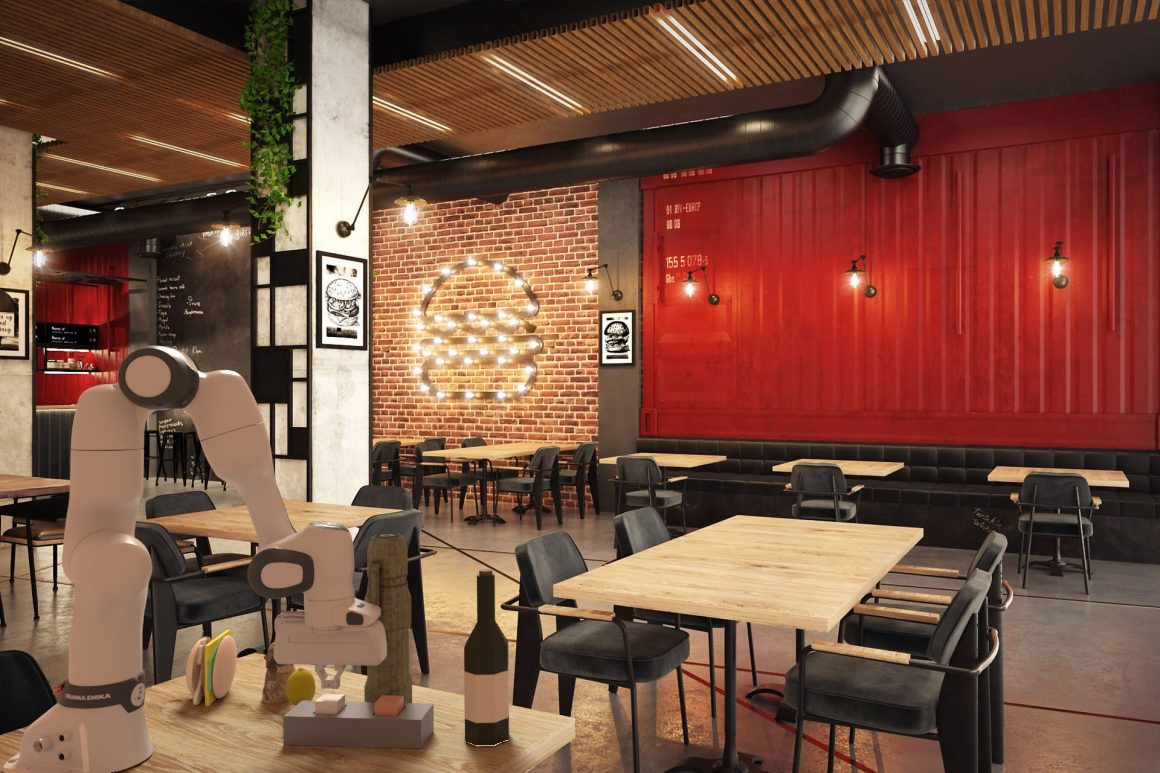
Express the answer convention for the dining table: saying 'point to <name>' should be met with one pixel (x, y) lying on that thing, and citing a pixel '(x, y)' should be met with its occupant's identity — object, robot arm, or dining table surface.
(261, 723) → the dining table surface
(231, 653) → the hamburger
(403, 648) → the thermos
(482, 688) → the wine bottle
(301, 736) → the key panel
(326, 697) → the pale key
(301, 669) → the lemon
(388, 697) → the clay key
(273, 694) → the figurine
